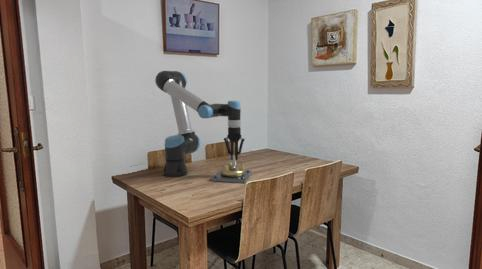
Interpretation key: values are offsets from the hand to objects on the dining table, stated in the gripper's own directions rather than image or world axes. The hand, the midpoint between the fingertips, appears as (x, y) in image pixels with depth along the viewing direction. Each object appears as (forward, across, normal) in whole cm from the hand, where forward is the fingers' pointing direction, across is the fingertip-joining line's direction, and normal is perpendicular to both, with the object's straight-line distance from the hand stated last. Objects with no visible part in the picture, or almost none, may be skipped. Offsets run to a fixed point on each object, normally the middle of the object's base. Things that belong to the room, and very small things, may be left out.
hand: (234, 165), depth 208 cm
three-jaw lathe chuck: (+4, 0, +5) cm, 7 cm away
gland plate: (+6, 0, +6) cm, 8 cm away
